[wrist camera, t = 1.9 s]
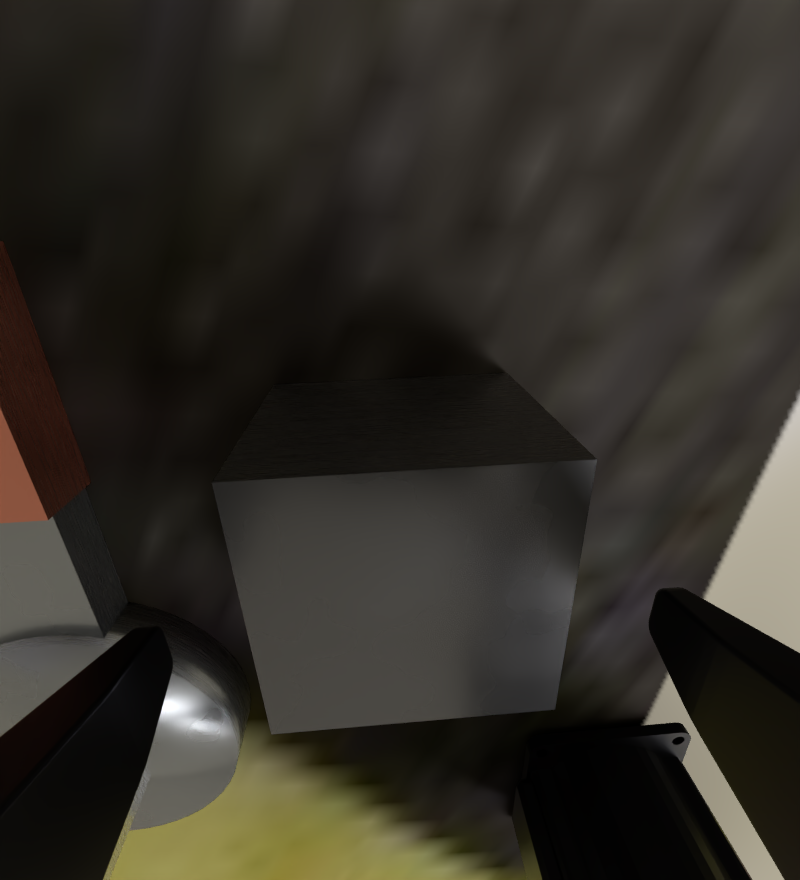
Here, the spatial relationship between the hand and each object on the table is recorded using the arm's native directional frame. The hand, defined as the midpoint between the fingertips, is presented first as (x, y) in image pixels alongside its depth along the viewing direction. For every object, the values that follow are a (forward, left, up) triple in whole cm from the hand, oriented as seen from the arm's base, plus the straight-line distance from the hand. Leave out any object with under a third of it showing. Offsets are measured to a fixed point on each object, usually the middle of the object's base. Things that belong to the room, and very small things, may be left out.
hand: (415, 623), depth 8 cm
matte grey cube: (0, 0, -5) cm, 5 cm away
